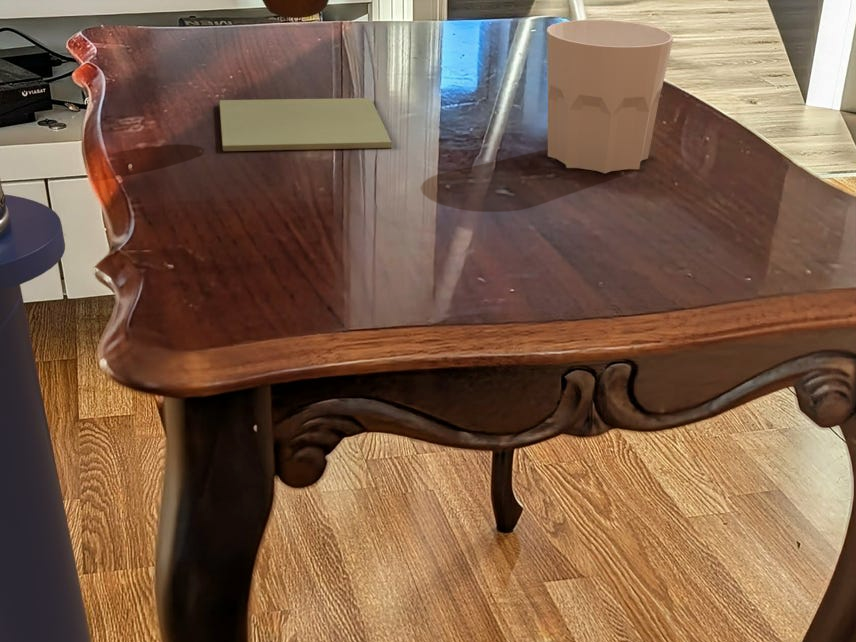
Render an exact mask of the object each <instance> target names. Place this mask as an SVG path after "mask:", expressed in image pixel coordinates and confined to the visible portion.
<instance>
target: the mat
mask: <svg viewBox="0 0 856 642" xmlns="http://www.w3.org/2000/svg"><path fill="white" fill-rule="evenodd" d="M218 101H219V102H218V104H219V117H220V131H221V144H222V152H251V151H252V152H253V151H254V152H255V151H257V152H259V151H261V152H262V151H293V150H294V151H300V150H301V151H303V150H306V151H309V150H347V149H349V150H350V149H351V150H352V149H391V148H393V143H392V140H391V138H390V136H389V134H388V131H387V130H386V129H387V128H386V127H385V126H384V123H383V121H382V119H381V116H380V114H379V113H378V110H377V108H376V106H375V104H374V101H373V99H372V98H371V97H354V98H353V97H351V98H342V97H341V98H282V99H280V98H279V99H269V98H268V99H220V100H218Z"/></svg>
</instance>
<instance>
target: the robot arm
mask: <svg viewBox="0 0 856 642" xmlns="http://www.w3.org/2000/svg"><path fill="white" fill-rule="evenodd" d="M4 194H5V192H4V190H3V186H2V181H1V179H0V238H2V237H3V236H4V235H6V234H7V233H8V231H9V230H10V228H11V222H10V217H9V212H8V208H7V206H6V205H5V204H6V202H5V196H4Z"/></svg>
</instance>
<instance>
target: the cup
mask: <svg viewBox="0 0 856 642" xmlns="http://www.w3.org/2000/svg"><path fill="white" fill-rule="evenodd" d="M673 41H674V35H673V34H672V33H670V32H669V31H667V30H665V29H662V28H660V27H657V26H654V25H653V26H652V25H648V24H644V23H640V22H639V23H638V22H632V21H622V20H612V19H576V20H575V19H574V20H567V21H560V22H557V23H553V24H551V25H549V26H548V27H547V28H546V50H547V52H546V58H547V59H546V61H547V63H546V65H547V157H548V158H552V159H555V160H557V161H558V162H561V163H563V164H564V165H565V168H566V169H582V170H587V171H588V170H589V171H596V172H599V173H602V174H608V173H610V172H615V171H623V170H625V171H626V170H640V167H641V162H642V161H644V160H648V159H649V154H650V149H651V144H652V139H653V135H654V134H653V133H654V129H655V123H656V118H657V111H658V106H659V102H660V97H661V93H662V89H663V85H664V81H665V78H666V77H665V76H666V73H667V67H668V64H669V59H670V55H671V50H672V45H673Z"/></svg>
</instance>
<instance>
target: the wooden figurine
mask: <svg viewBox="0 0 856 642" xmlns="http://www.w3.org/2000/svg"><path fill="white" fill-rule="evenodd" d="M261 1H262V2H263V4H264V6H265V7H266V9H267V10H268V11H269V12H270V13H271V14H274V15H276V16H279V17H283V18H293V19H295V18H296V19H299V18H308V17H313V16H315V15H318V14H320V13H321V12H323V10H325V9H326V7H327V6H328V4H329V1H330V0H261Z"/></svg>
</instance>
